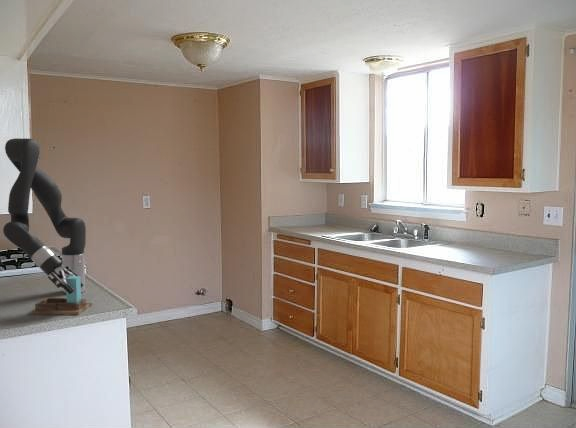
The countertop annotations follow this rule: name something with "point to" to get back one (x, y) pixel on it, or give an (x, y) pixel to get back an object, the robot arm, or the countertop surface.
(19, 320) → the countertop surface
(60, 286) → the robot arm
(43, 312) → the keyhole board
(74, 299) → the post
